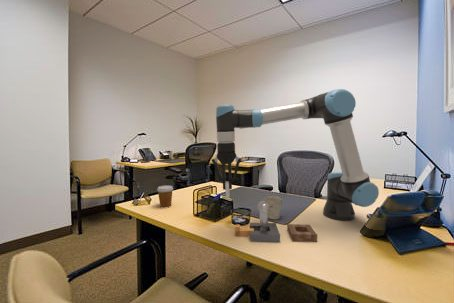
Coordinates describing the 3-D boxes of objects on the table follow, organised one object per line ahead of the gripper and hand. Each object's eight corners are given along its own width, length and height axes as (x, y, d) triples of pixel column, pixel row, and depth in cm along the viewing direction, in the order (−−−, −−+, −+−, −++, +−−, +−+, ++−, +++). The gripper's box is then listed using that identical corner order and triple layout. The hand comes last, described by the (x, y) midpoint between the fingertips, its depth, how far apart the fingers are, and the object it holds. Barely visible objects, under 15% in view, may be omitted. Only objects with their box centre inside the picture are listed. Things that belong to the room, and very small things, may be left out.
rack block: (309, 231, 100) (309, 224, 100) (317, 241, 90) (317, 234, 90) (287, 230, 101) (287, 224, 101) (292, 241, 91) (292, 234, 91)
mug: (282, 221, 112) (282, 201, 111) (256, 219, 114) (256, 200, 114) (281, 214, 120) (281, 196, 119) (257, 213, 123) (257, 195, 122)
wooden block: (253, 233, 98) (253, 224, 98) (254, 236, 96) (254, 227, 95) (235, 233, 99) (235, 224, 99) (235, 236, 96) (235, 227, 96)
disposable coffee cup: (161, 203, 142) (161, 185, 141) (176, 204, 140) (175, 185, 139) (154, 208, 132) (154, 188, 131) (170, 209, 131) (169, 189, 130)
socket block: (275, 229, 102) (275, 223, 102) (280, 242, 90) (280, 235, 90) (249, 228, 103) (249, 222, 103) (250, 241, 91) (250, 234, 91)
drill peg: (267, 233, 98) (267, 202, 97) (268, 237, 95) (268, 205, 94) (259, 233, 99) (259, 202, 97) (259, 237, 95) (259, 205, 94)
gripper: (241, 141, 98) (242, 194, 100) (211, 142, 99) (213, 194, 101) (241, 142, 90) (242, 199, 92) (209, 143, 91) (211, 199, 93)
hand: (227, 196), depth 96 cm, fingers closed
